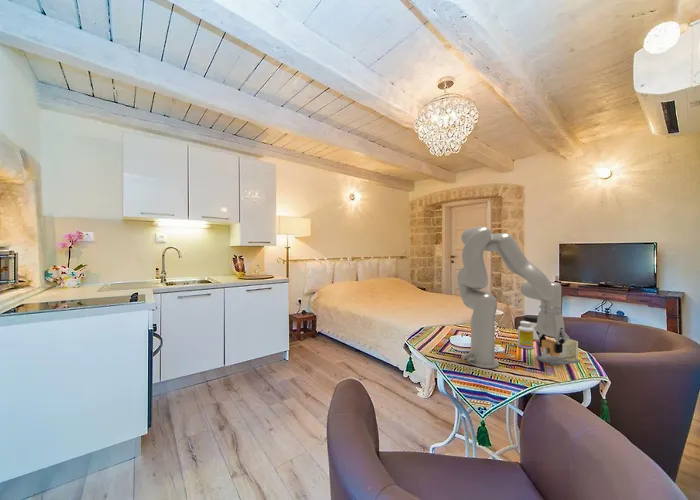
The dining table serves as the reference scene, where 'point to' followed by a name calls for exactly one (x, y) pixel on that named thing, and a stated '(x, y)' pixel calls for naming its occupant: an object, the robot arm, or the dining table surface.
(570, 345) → the flange rail
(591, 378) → the dining table surface
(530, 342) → the supplement bottle
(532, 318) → the jar
